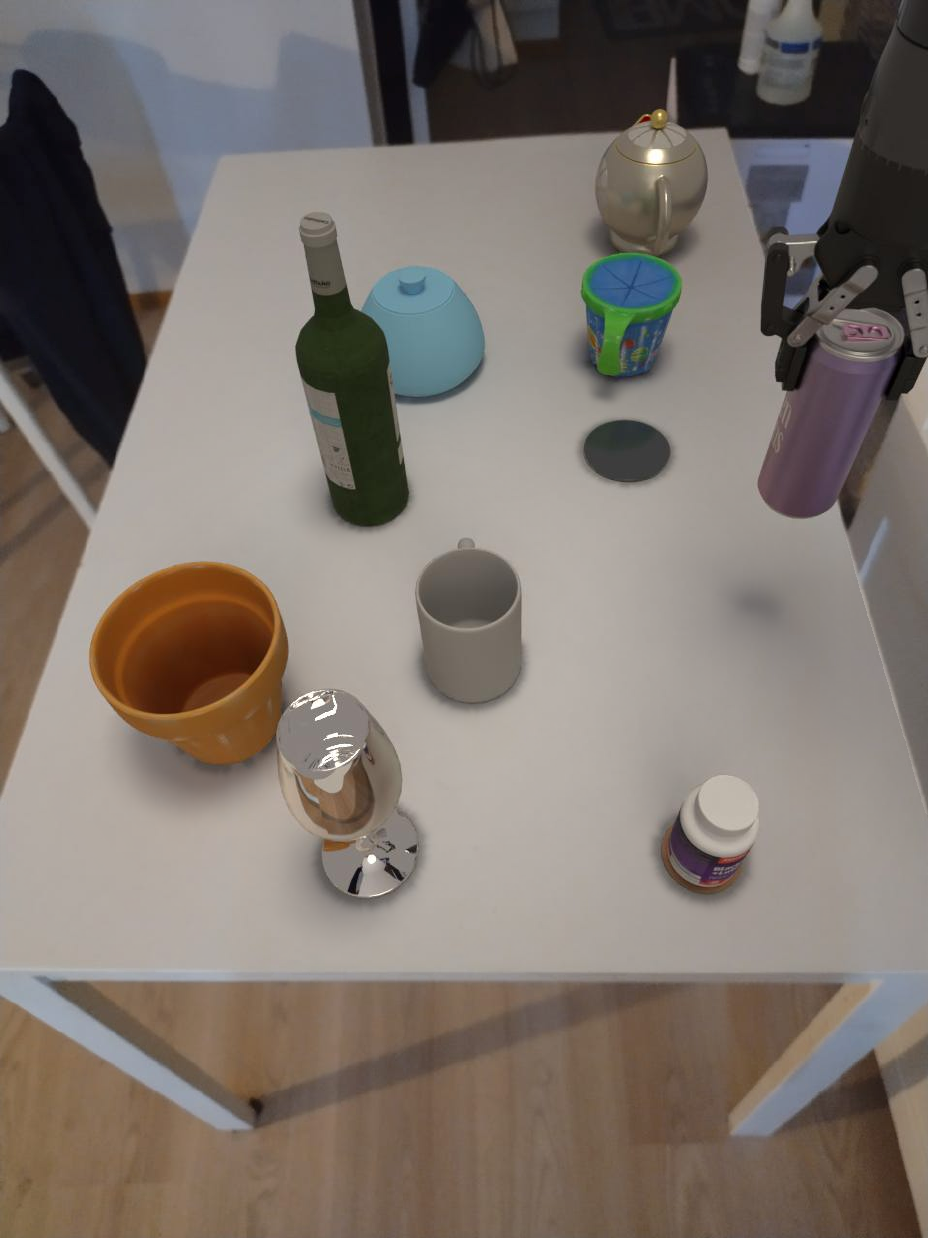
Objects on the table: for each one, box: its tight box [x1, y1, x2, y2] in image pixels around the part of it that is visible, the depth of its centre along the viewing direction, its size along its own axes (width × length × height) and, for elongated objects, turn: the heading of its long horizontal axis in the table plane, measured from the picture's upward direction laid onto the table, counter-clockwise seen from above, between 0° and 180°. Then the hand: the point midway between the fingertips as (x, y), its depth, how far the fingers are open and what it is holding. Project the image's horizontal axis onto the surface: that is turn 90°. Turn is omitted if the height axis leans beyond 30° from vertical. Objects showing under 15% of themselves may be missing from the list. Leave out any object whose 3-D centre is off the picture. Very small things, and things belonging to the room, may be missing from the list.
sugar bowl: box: [360, 265, 486, 398], centre depth 96 cm, size 15×15×12 cm
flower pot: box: [88, 561, 289, 766], centre depth 69 cm, size 14×14×13 cm
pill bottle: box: [667, 774, 761, 887], centre depth 61 cm, size 5×5×10 cm
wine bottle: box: [294, 211, 410, 527], centre depth 76 cm, size 8×8×30 cm
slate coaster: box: [583, 419, 671, 483], centre depth 90 cm, size 9×9×1 cm
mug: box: [414, 537, 523, 704], centre depth 73 cm, size 12×8×11 cm
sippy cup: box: [580, 252, 683, 378], centre depth 95 cm, size 16×10×10 cm
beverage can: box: [756, 308, 906, 520], centre depth 60 cm, size 6×6×15 cm
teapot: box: [594, 108, 709, 258], centre depth 105 cm, size 18×14×16 cm
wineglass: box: [275, 688, 420, 899], centre depth 59 cm, size 8×8×20 cm
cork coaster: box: [661, 823, 744, 894], centre depth 65 cm, size 6×6×1 cm
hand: (838, 387), depth 58 cm, fingers closed on beverage can, 6 cm apart
